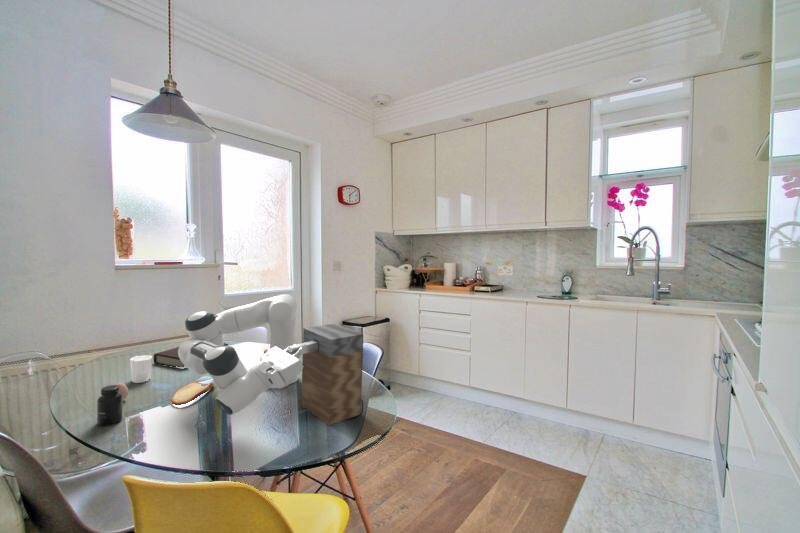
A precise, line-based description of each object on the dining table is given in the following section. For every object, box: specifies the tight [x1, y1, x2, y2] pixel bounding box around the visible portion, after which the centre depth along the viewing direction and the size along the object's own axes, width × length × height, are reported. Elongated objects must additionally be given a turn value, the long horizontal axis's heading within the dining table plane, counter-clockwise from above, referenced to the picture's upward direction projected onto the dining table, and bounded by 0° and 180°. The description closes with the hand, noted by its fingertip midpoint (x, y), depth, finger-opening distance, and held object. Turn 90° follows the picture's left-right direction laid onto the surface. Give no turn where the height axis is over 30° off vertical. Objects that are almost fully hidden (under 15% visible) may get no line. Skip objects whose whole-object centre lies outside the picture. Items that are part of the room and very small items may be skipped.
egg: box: [114, 382, 129, 401], centre depth 138 cm, size 5×5×7 cm
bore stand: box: [301, 323, 364, 426], centre depth 138 cm, size 14×20×31 cm
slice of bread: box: [170, 381, 215, 405], centre depth 146 cm, size 18×18×4 cm
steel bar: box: [288, 340, 319, 356], centre depth 132 cm, size 18×3×3 cm, turn 132°
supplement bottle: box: [96, 384, 124, 427], centre depth 123 cm, size 7×7×12 cm
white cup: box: [129, 354, 153, 384], centre depth 159 cm, size 8×8×10 cm
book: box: [152, 343, 229, 368], centre depth 190 cm, size 28×20×6 cm
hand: (300, 347), depth 128 cm, fingers closed on steel bar, 3 cm apart
